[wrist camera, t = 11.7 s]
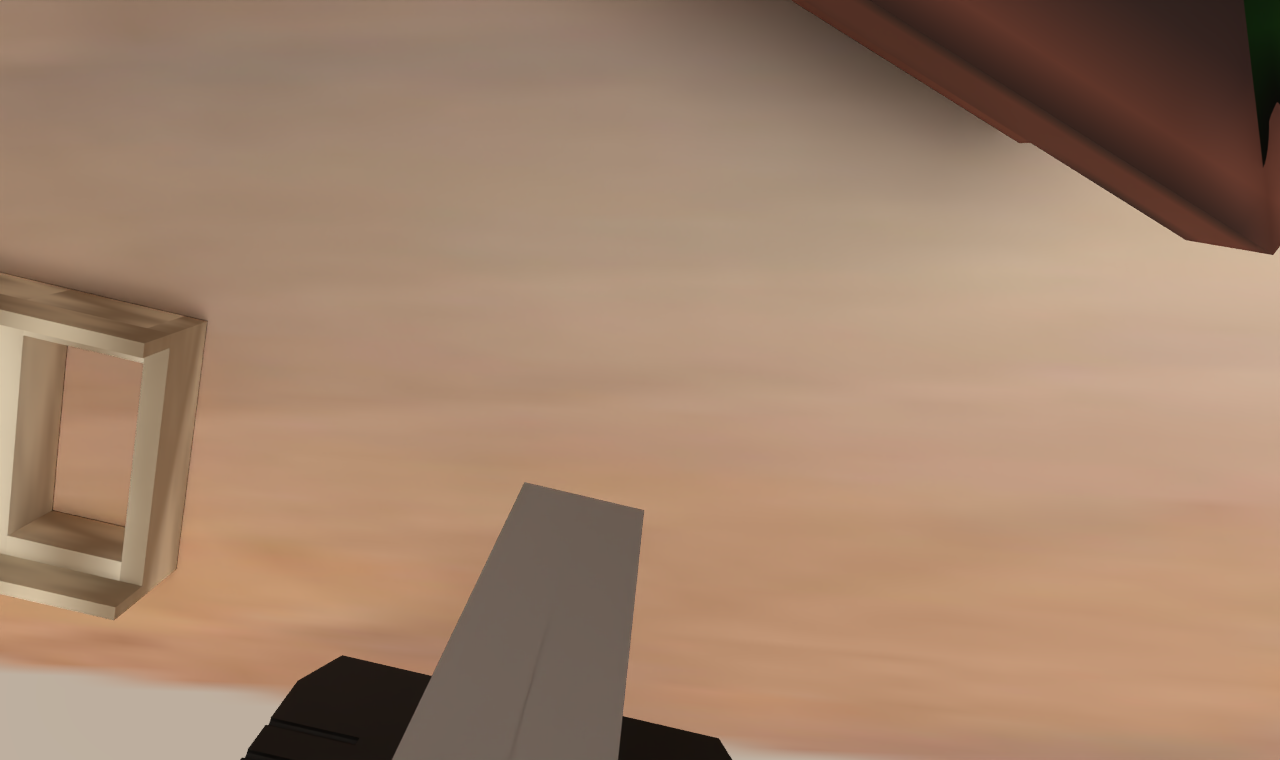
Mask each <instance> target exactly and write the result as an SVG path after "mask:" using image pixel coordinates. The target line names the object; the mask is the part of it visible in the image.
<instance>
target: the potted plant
mask: <svg viewBox="0 0 1280 760" xmlns="http://www.w3.org/2000/svg"><path fill="white" fill-rule="evenodd" d="M792 1H793V2H795V3H796V4H798V5H800V6H801V7H803V8H804V9H806V10H808V11H809V12H811V13H812V14H814V15H816V16H817V17H819V18H820V19H822V20H823V21H825V22H827V23H828V24H830V25H831V26H833V27H835V28H836V29H838V30H839V31H841V32H843V33H844V34H846V35H847V36H849V37H851V38H852V39H854V40H855V41H857V42H859V43H860V44H862V45H863V46H865V47H867V48H868V49H870V50H871V51H873V52H875V53H876V54H878V55H879V56H881V57H883V58H884V59H886V60H887V61H889V62H891V63H892V64H894V65H895V66H897V67H899V68H900V69H902V70H903V71H905V72H907V73H908V74H910V75H911V76H913V77H915V78H916V79H918V80H919V81H921V82H923V83H924V84H926V85H927V86H929V87H931V88H932V89H934V90H935V91H937V92H938V93H940V94H942V95H943V96H945V97H946V98H948V99H950V100H951V101H953V102H954V103H956V104H958V105H959V106H961V107H962V108H964V109H966V110H967V111H969V112H970V113H972V114H974V115H975V116H977V117H978V118H980V119H982V120H983V121H985V122H986V123H988V124H990V125H991V126H993V127H994V128H996V129H998V130H999V131H1001V132H1002V133H1004V134H1006V135H1007V136H1009V137H1010V138H1012V139H1014V140H1015V141H1017V142H1018V143H1032V144H1034V145H1035V146H1037V147H1038V148H1040V149H1042V150H1043V151H1045V152H1046V153H1048V154H1049V155H1051V156H1053V157H1054V158H1056V159H1057V160H1059V161H1061V162H1062V163H1064V164H1065V165H1067V166H1069V167H1070V168H1072V169H1073V170H1075V171H1077V172H1078V173H1080V174H1081V175H1083V176H1085V177H1086V178H1088V179H1089V180H1091V181H1093V182H1094V183H1096V184H1097V185H1099V186H1101V187H1102V188H1104V189H1105V190H1107V191H1109V192H1110V193H1112V194H1113V195H1115V196H1116V197H1118V198H1120V199H1121V200H1123V201H1124V202H1126V203H1128V204H1129V205H1131V206H1132V207H1134V208H1136V209H1137V210H1139V211H1140V212H1142V213H1144V214H1145V215H1147V216H1148V217H1150V218H1152V219H1153V220H1155V221H1156V222H1158V223H1160V224H1161V225H1163V226H1164V227H1166V228H1168V229H1169V230H1171V231H1172V232H1174V233H1176V234H1177V235H1179V236H1180V237H1182V238H1183V239H1185V240H1189V241H1195V242H1200V243H1206V244H1212V245H1218V246H1224V247H1230V248H1236V249H1242V250H1248V251H1254V252H1259V253H1265V254H1271V255H1273V254H1274V253H1275V252H1276V250H1277V249H1278V248H1279V246H1280V0H792Z"/></svg>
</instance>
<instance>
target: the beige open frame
mask: <svg viewBox="0 0 1280 760" xmlns="http://www.w3.org/2000/svg"><path fill="white" fill-rule="evenodd" d="M206 327H207V321H204V320H199V319H195V318H191V317H187V316H182V315H178V314H174V313H170V312H165V311H161V310H157V309H153V308H148V307H144V306H140V305H136V304H131V303H127V302H123V301H119V300H114V299H110V298H106V297H102V296H97V295H93V294H89V293H85V292H80V291H76V290H72V289H68V288H63V287H59V286H55V285H51V284H46V283H42V282H38V281H34V280H29V279H25V278H21V277H17V276H12V275H8V274H4V273H0V594H2V595H6V596H11V597H15V598H19V599H24V600H28V601H32V602H37V603H41V604H45V605H50V606H54V607H58V608H63V609H67V610H71V611H76V612H80V613H84V614H89V615H93V616H97V617H102V618H106V619H110V620H115V619H116V618H117V617H119V616H120V615H121V614H122V613H124V612H125V611H126V610H127V609H128V608H130V607H131V606H132V605H133V604H135V603H136V602H137V601H138V600H139V599H141V598H142V597H143V596H144V595H145V594H147V593H148V592H149V591H150V590H152V589H153V588H154V587H155V586H156V585H158V584H159V583H160V582H161V581H163V580H164V579H165V578H166V577H167V576H169V575H170V574H171V573H172V572H173V571H175V570H176V566H177V558H178V550H179V542H180V534H181V526H182V518H183V510H184V502H185V494H186V487H187V479H188V471H189V463H190V455H191V447H192V439H193V431H194V423H195V415H196V407H197V399H198V391H199V383H200V375H201V367H202V359H203V351H204V343H205V335H206ZM67 346H71V347H75V348H80V349H84V350H88V351H93V352H97V353H101V354H105V355H110V356H114V357H118V358H122V359H127V360H131V361H135V362H139V363H143V372H142V381H141V390H140V399H139V408H138V417H137V426H136V435H135V444H134V453H133V462H132V471H131V480H130V489H129V498H128V508H127V517H126V526H125V527H121V526H117V525H113V524H108V523H104V522H100V521H96V520H91V519H87V518H83V517H78V516H74V515H70V514H65V513H61V512H57V511H52V506H53V495H54V484H55V473H56V462H57V451H58V440H59V429H60V418H61V407H62V396H63V385H64V374H65V363H66V351H67Z"/></svg>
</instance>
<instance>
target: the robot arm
mask: <svg viewBox="0 0 1280 760" xmlns="http://www.w3.org/2000/svg"><path fill="white" fill-rule="evenodd" d="M643 515H644V510H641V509H636V508H632V507H628V506H624V505H619V504H615V503H611V502H607V501H602V500H598V499H594V498H590V497H585V496H581V495H577V494H572V493H568V492H564V491H560V490H555V489H551V488H547V487H543V486H538V485H534V484H530V483H526V482H524V485H523V487H522V489H521V491H520V493H519V495H518V497H517V499H516V501H515V503H514V505H513V508H512V510H511V512H510V514H509V516H508V518H507V520H506V522H505V524H504V526H503V528H502V531H501V533H500V535H499V537H498V539H497V541H496V543H495V545H494V547H493V549H492V551H491V554H490V556H489V558H488V560H487V562H486V564H485V566H484V568H483V570H482V572H481V574H480V577H479V579H478V581H477V583H476V585H475V587H474V589H473V591H472V593H471V595H470V597H469V600H468V602H467V604H466V606H465V608H464V610H463V612H462V614H461V616H460V618H459V620H458V623H457V625H456V627H455V629H454V631H453V633H452V635H451V637H450V639H449V641H448V644H447V646H446V648H445V650H444V652H443V654H442V656H441V658H440V660H439V662H438V664H437V667H436V669H435V671H434V673H433V675H432V676H429V675H425V674H421V673H416V672H412V671H408V670H403V669H399V668H395V667H390V666H386V665H382V664H377V663H373V662H369V661H364V660H360V659H356V658H351V657H347V656H343V655H342V656H340V657H339V658H337V659H335V660H333V661H332V662H330V663H328V664H326V665H325V666H323V667H321V668H319V669H318V670H316V671H314V672H312V673H311V674H309V675H307V676H305V677H303V678H302V679H300V680H298V681H297V683H296V684H295V685H294V687H293V688H292V689H291V691H290V692H289V694H288V695H287V696H286V698H285V699H284V700H283V702H282V703H281V705H280V706H279V707H278V709H277V710H276V711H275V713H274V714H273V716H272V717H271V720H270V723H269V725H265V727H264V728H263V729H262V731H261V732H260V733H259V735H258V736H257V738H256V739H255V741H254V742H253V743H252V744H251V746H250V747H249V749H248V752H247V755H246V757H245V758H241V760H732V759H731V757H730V756H729V754H728V752H727V751H726V749H725V748H724V746H723V744H722V743H721V741H720V740H719V738H715V737H710V736H706V735H702V734H697V733H693V732H689V731H684V730H680V729H676V728H671V727H667V726H663V725H659V724H654V723H650V722H646V721H641V720H637V719H633V718H628V717H624V716H623V707H624V697H625V688H626V678H627V668H628V659H629V649H630V640H631V630H632V621H633V611H634V602H635V592H636V582H637V573H638V563H639V554H640V544H641V535H642V525H643Z"/></svg>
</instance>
